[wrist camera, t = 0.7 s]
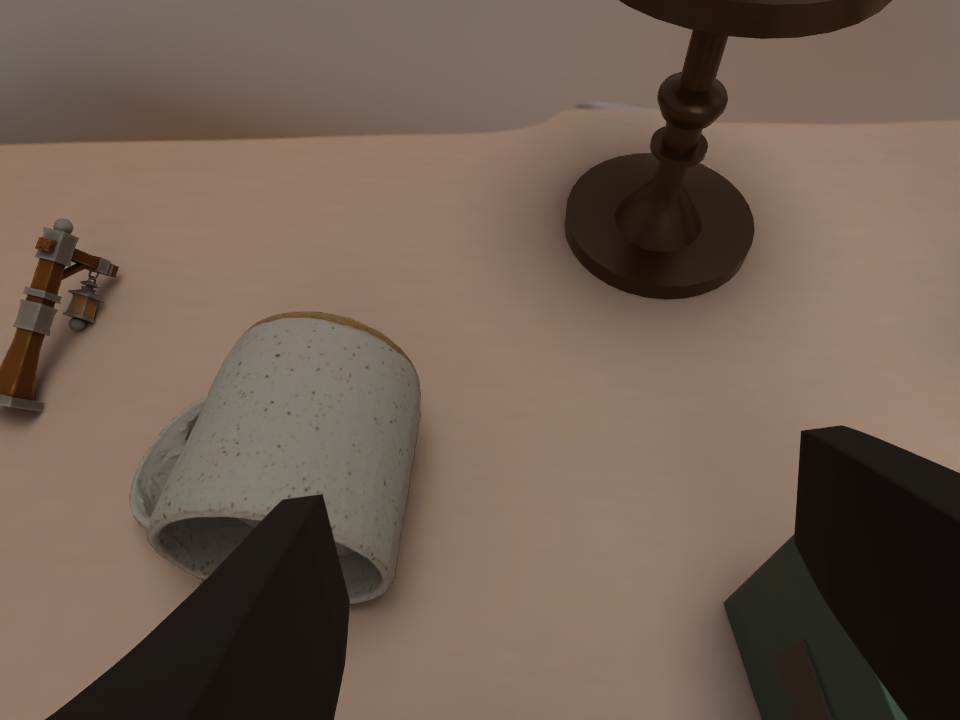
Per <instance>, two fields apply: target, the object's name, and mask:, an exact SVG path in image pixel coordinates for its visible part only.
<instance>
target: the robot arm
mask: <svg viewBox="0 0 960 720" xmlns="http://www.w3.org/2000/svg"><path fill="white" fill-rule="evenodd" d="M794 543H795V545H796V547H797V549H798V551H799V553H800V555H801V557H802V559H803V561H804V563H805V565H806V567H807V569H808V571H809V573H810V575H811V577H812V579H813V581H814V583H815V584H816V586H817V588H818V590H819V592H820V594H821V595H822V597H823V599H824V601H825V603H826V604H827V605H828V607H829V608H830V610H831V611H832V613H833V614H834V616H835V617H836V619H837V620H838V622H839V623H840V624H841V626H842V627H843V629H844V630H845V632H846V633H847V634H848V636H849V637H850V639H851V640H852V642H853V643H854V644H855V646H856V647H857V649H858V650H859V652H860V653H861V654H862V656H863V657H864V659H865V660H866V661H867V663H868V664H869V666H870V667H871V668H872V670H873V671H874V673H875V674H876V675H877V677H878V678H879V680H880V681H881V682H882V684H883V685H884V687H885V688H886V689H887V691H888V692H889V694H890V695H891V696H892V698H893V699H894V701H895V702H896V704H897V705H898V706H899V708H900V709H901V711H902V712H903V713H904V715H905V716H906V718H907V719H908V720H960V473H958V472H956V471H953V470H951V469H949V468H946V467H944V466H942V465H939V464H937V463H935V462H932V461H930V460H928V459H925V458H923V457H921V456H918V455H916V454H914V453H911V452H909V451H907V450H904V449H902V448H900V447H897V446H895V445H893V444H890V443H888V442H885V441H883V440H881V439H878V438H876V437H873V436H871V435H868V434H866V433H863V432H860V431H857V430H855V429H852V428H849V427H846V426H834V427H827V428H819V429H811V430H804V431H801V442H800V458H799V474H798V490H797V505H796V521H795V537H794ZM349 605H350V600H349V596H348V592H347V588H346V584H345V580H344V576H343V572H342V568H341V564H340V560H339V556H338V552H337V548H336V544H335V540H334V537H333V533H332V529H331V525H330V521H329V517H328V513H327V509H326V505H325V501H324V497H323V494H319V495H312V496H304V497H297V498H289V499H283V500H282V501H280V502H279V503H278V504H277V505H276V506H275V507H274V508H273V509H272V510H271V511H270V512H269V513H268V514H267V515H266V516H265V518H264V519H263V520H262V521H261V522H260V523H259V524H258V525H257V526H256V527H255V528H254V529H253V530H252V531H251V532H250V534H249V535H248V536H247V537H246V538H245V539H244V540H243V541H242V542H241V543H240V544H239V545H238V546H237V547H236V549H235V550H234V551H233V552H232V553H231V554H230V555H229V556H228V557H227V558H226V559H225V560H224V561H223V562H222V563H221V564H220V565H219V566H218V567H217V568H216V569H215V570H214V571H213V573H212V574H211V575H210V576H209V577H208V578H207V579H206V580H205V581H204V582H203V583H202V584H201V585H200V586H199V587H198V588H197V589H196V590H195V591H194V592H193V593H192V594H191V595H190V596H189V597H188V598H187V599H186V600H184V601H183V602H182V603H181V604H180V605H179V606H178V607H177V608H176V609H175V610H174V611H173V612H172V613H171V614H170V615H169V616H168V617H167V618H166V619H165V620H163V621H162V622H161V623H160V624H159V625H158V626H157V627H156V628H155V629H154V630H153V631H152V632H151V633H150V634H149V635H148V636H147V637H146V638H145V639H144V640H142V641H141V642H140V643H139V644H138V645H137V646H136V647H135V648H133V649H132V650H131V651H130V652H129V653H128V654H127V655H125V656H124V657H123V658H122V659H121V660H120V661H118V662H117V663H116V664H115V665H114V666H113V667H111V668H110V669H109V670H108V671H107V672H105V673H104V674H103V675H102V676H100V677H99V678H98V679H97V680H95V681H94V682H93V683H92V684H90V685H89V686H88V687H87V688H86V689H84V690H83V691H82V692H81V693H79V694H78V695H77V696H76V697H74V698H73V699H72V700H71V701H69V702H68V703H67V704H65V705H64V706H63V707H62V708H60V709H59V710H58V711H56V712H55V713H54V714H52V715H51V716H49V717H48V718H47V719H45V720H334V716H335V711H336V706H337V701H338V696H339V691H340V686H341V682H342V676H343V671H344V666H345V657H346V646H347V635H348V620H349Z"/></svg>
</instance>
